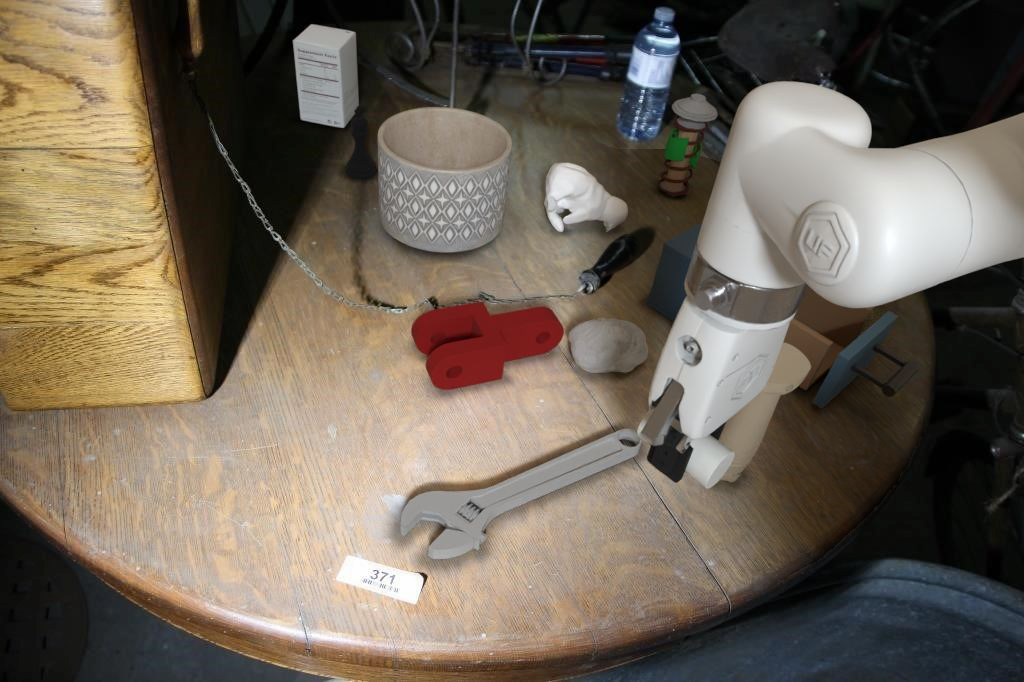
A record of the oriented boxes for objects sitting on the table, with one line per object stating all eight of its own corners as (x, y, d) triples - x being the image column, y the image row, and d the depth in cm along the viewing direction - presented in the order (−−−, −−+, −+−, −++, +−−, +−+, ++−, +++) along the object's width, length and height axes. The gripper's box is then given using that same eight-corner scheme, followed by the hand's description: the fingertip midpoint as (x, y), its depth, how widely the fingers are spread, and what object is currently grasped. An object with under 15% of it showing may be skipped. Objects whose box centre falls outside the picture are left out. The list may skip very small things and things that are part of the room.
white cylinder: (730, 469, 61) (738, 444, 58) (702, 496, 59) (710, 471, 57) (662, 419, 64) (667, 393, 62) (634, 443, 63) (639, 417, 60)
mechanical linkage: (430, 393, 77) (431, 359, 74) (410, 348, 82) (411, 313, 79) (569, 364, 83) (576, 331, 80) (543, 323, 88) (549, 289, 84)
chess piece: (339, 173, 107) (335, 106, 101) (357, 160, 110) (354, 95, 104) (364, 182, 106) (362, 116, 99) (382, 169, 109) (381, 104, 102)
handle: (682, 461, 74) (727, 351, 64) (734, 444, 77) (785, 335, 67) (711, 499, 71) (762, 390, 61) (764, 480, 74) (822, 372, 63)
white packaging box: (316, 101, 123) (310, 22, 114) (360, 109, 122) (357, 31, 114) (298, 120, 118) (291, 39, 109) (344, 129, 117) (339, 48, 108)
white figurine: (551, 150, 100) (637, 169, 101) (537, 204, 106) (619, 221, 107) (549, 173, 96) (640, 193, 97) (534, 228, 101) (620, 247, 102)
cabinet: (802, 326, 92) (830, 266, 86) (745, 370, 85) (772, 308, 79) (705, 267, 99) (725, 208, 93) (646, 303, 92) (664, 242, 86)
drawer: (910, 388, 84) (941, 340, 80) (863, 436, 78) (894, 388, 73) (770, 303, 93) (791, 256, 89) (718, 340, 87) (737, 291, 82)
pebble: (594, 323, 88) (602, 290, 85) (654, 356, 85) (664, 323, 82) (552, 360, 83) (559, 326, 80) (614, 397, 80) (623, 363, 77)
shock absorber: (695, 205, 111) (725, 109, 101) (653, 201, 111) (679, 104, 101) (689, 183, 116) (717, 89, 106) (648, 179, 115) (672, 84, 105)
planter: (501, 195, 107) (510, 112, 99) (504, 264, 95) (514, 176, 87) (384, 187, 106) (383, 101, 97) (373, 256, 94) (370, 166, 85)
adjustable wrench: (628, 434, 76) (632, 422, 75) (664, 482, 72) (669, 470, 71) (394, 513, 66) (394, 501, 65) (421, 573, 62) (421, 562, 61)
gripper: (721, 360, 43) (652, 543, 55) (856, 261, 52) (772, 436, 64) (622, 295, 47) (578, 480, 59) (764, 213, 56) (701, 387, 68)
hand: (680, 455), depth 62 cm, fingers closed on white cylinder, 3 cm apart
